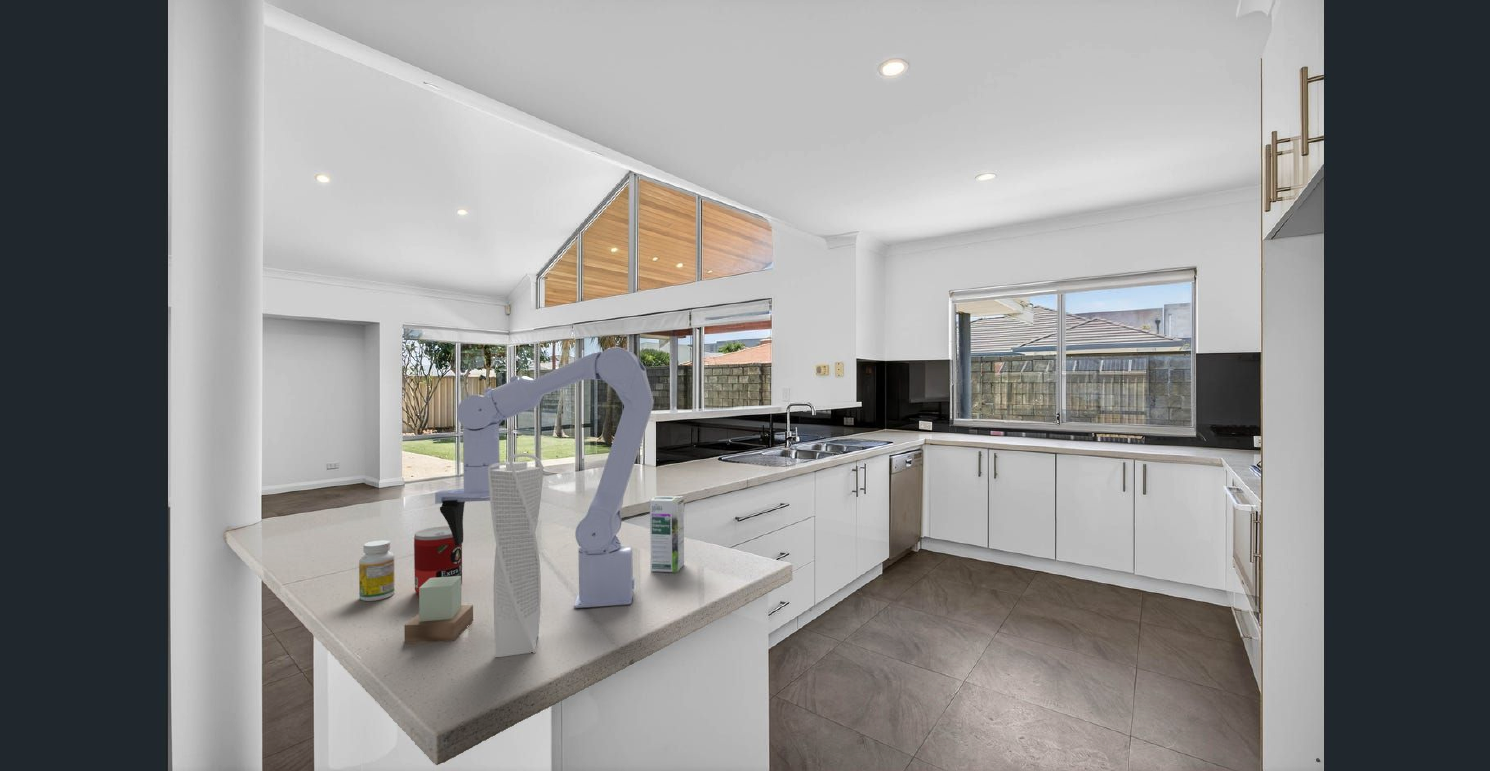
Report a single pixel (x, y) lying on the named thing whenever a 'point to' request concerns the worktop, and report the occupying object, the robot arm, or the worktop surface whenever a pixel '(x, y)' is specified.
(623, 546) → the robot arm
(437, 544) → the canned food
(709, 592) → the worktop surface
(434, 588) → the sage block
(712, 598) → the worktop surface
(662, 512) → the syrup box
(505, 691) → the worktop surface
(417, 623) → the walnut block
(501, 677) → the worktop surface
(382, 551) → the supplement bottle
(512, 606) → the skyscraper
